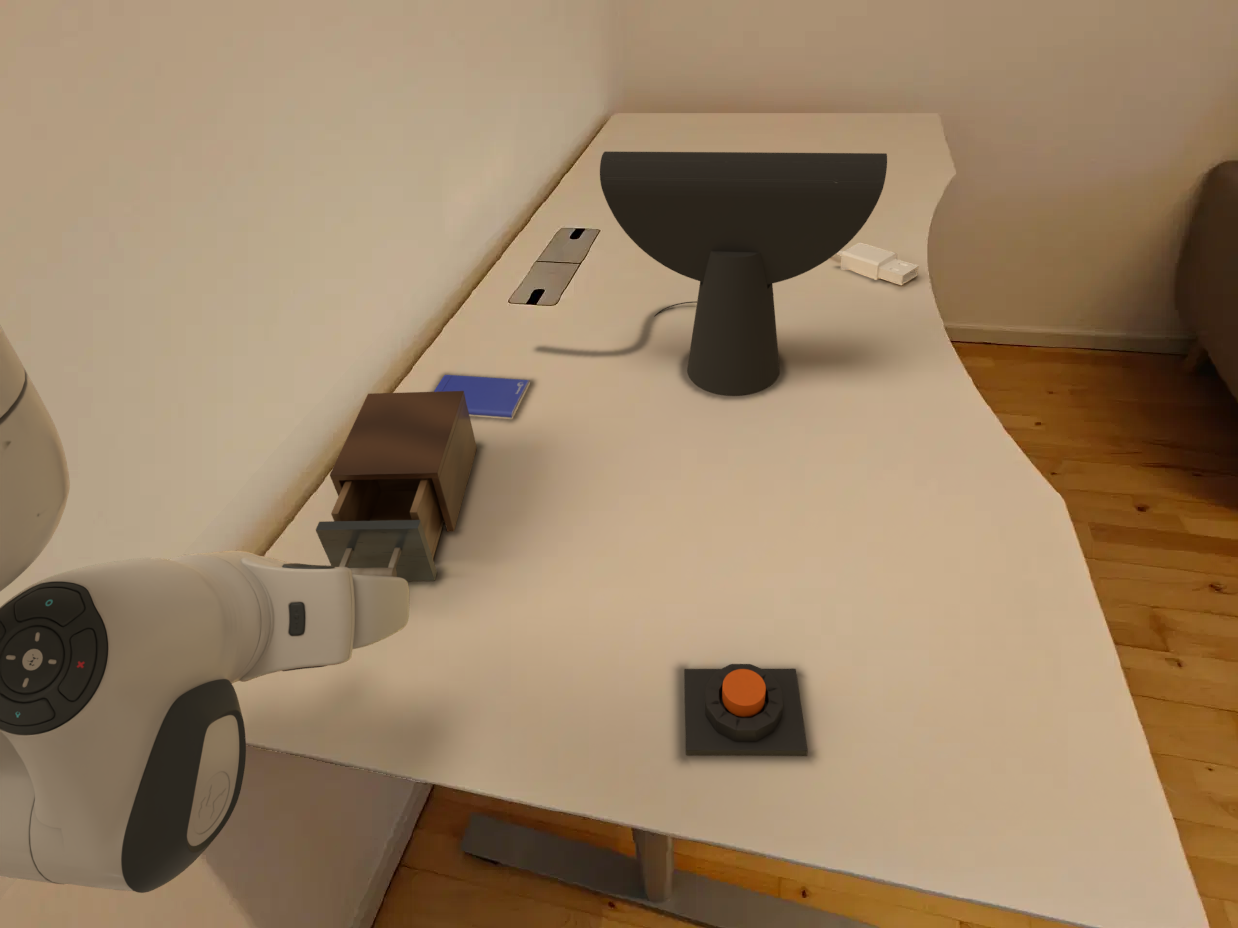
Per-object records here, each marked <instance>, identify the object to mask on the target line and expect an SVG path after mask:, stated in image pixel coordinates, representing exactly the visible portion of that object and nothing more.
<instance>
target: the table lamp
mask: <svg viewBox="0 0 1238 928" xmlns="http://www.w3.org/2000/svg"><path fill="white" fill-rule="evenodd" d="M887 154H888V153H885V152H883V153H881V152H878V153H877V152H873V153H872V152H871V153H870V152H763V151H762V152H755V151H754V152H752V151H751V152H750V151H749V152H748V151H747V152H745V151H742V152H741V151H738V152H737V151H604V152H602V155H601V158H600V163H599V181H600V186H601V191H602V193H603V196H604V199H605V201H606V204H607V206H608V207H609V210H610V211H611V214H612V215H613V217H614V218H615V220H616V222H617V223H618V225H619V226H620V227H621V229H622V230H623V231H624V233H625V234H626V235H627V236H628V237H629V238H630V240H631V241H632V242H633V243H634V244H635V245H637V247H638V248H640V250H642V252H644V253H645V254H646V255H647V256H648V257H650V258H652V259H653V260H654V261H656V262H657V263H659V264H661V265H662V266H664V267H665V268H667V269H669V270H671V271H673V272H675V273H677V274H679V275H681V276H684V277H686V278H689V279H692V280H695V281H698V282H699V287H698V294H697V300H696V301H684V302H679V303H675V304H672V305H669V306H667V307H664V308H662V309H661V310H659V311H658V312H657V313H656V314H655V315H653V318H654V317H656V316H657V315H658V314H660V313H661V312H663V311H665V310H667V309H669V308H671V307H675V306H678V305H684V304H694V303H696V308H695V314H694V321H693V328H692V335H691V342H690V347H689V355H688V361H687V367H686V372H687V376H688V378H689V379H690V381H691V382H692V384H694V385H695V386H696V387H698V388H699V389H701V390H703V391H705V392H708V393H711V394H714V395H718V396H725V397H743V396H744V397H745V396H750V395H754V394H758V393H760V392H763V391H765V390H767V389H768V388H770V387H772V385H774V384H775V383H776V381H777V380H778V378H779V376H780V371H781V369H780V356H779V346H778V334H777V333H778V332H777V323H776V310H775V309H776V308H775V298H774V297H775V296H774V287H773V286H774V285H773V284H777V283H780V282H785V281H787V280H790V279H793V278H796V277H798V276H801V275H803V274H805V273H807V272H810V271H811V270H813V269H815V268H817V267H818V266H820V265H822V264H823V263H825V262H827V261H828V260H829V259H831V258H833V256H835V255H836V253H837V252H839V251H840V250H841V251H842V249H844V247H846V246H847V245H848V244H849V243H850V242H851V241H852V240H853V239H854V238H855V236H856V235H857V234H858V233H859V232H860V231H861V230H862V228H863V227H864V226H865V225H866V223H867V221H868V220H869V218H870V217H871V215H872V213H873V211H874V209H875V208H876V206H877V204H878V202H879V201H880V197H881V195H882V192H883V190H884V187H885V182H886V177H887V170H888V155H887Z"/></svg>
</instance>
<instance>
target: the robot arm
mask: <svg viewBox="0 0 1238 928" xmlns="http://www.w3.org/2000/svg"><path fill="white" fill-rule="evenodd" d="M70 486H71V480H70V473H69V467H68V462H67V457H66V452H65V449H64V446H63V443H62V440H61V436H60V434H59V431H58V429H57V426H56V424H55V422H54V420H53V419H52V417H51V413H50V412H49V410H48V408H47V406H46V405H45V403H44V401H43V399H42V397H41V396H40V393H39V392H38V390H37V388H36V387H35V384H34V383H33V381H32V380H31V376H30V375H29V374H28V372H27V370H26V368H25V367H24V365H23V362H22V361H21V359H20V357H19V355H18V354H17V352H16V350H15V348H14V347H13V345H12V343H11V342H10V339H9V337H8V336H7V334H6V333H5V331H4V329H3V328H2V326H1V325H0V592H2V591H3V590H4V589H6V588H7V587H8V586H9V585H11V584H12V583H13V582H14V581H16V580H17V579H18V578H19V576H21V575H22V574H23V573H24V572H25V571H26V570H27V569H28V568H29V567H31V565H33V563H34V562H35V561H36V560H37V558H38V557H40V555H41V554H42V552H43V551H44V550H45V548H46V547H47V545H48V544H49V543H50V541H51V540H52V538H53V536H54V535H55V533H56V531H57V529H58V527H59V525H60V523H61V520H62V517H63V515H64V512H65V510H66V506H67V502H68V498H69V494H70V488H71V487H70ZM409 617H410V588H409V582H408V581H406V580H405V579H403V578H400V577H391V576H375V575H357V574H352V571H351V569H349V568H347V567H334V566H331V565H326V564H325V565H323V564H322V565H321V564H306V563H298V562H288V561H284V560H281V559H278V558H274V557H270V556H266V555H265V556H263V555H258V554H256V553H254V552H249V551H245V550H224V551H223V550H222V551H211V552H201V553H191V554H189V553H188V554H182V555H179V556H178V555H177V556H173V557H170V558H168V559H167V558H161V557H141V558H129V559H121V560H115V561H114V560H113V561H108V562H102V563H97V564H96V563H95V564H92V565H87V566H82V567H78V568H75V569H71V570H66V571H63V572H60V573H57V574H54V575H51V576H48V577H46V578H43V579H41V580H38V581H37V582H35V583H33V584H31V585H29V586H27V587H25V588H24V589H22V590H21V591H19V592H18V593H16V594H15V595H13V596H12V597H11V598H10V599H8V600H7V601H5V602H4V603H3V604H2V605H1V606H0V878H7V879H15V880H21V881H24V880H25V881H31V882H39V883H46V884H56V885H68V886H77V887H86V888H94V889H103V890H112V891H119V892H120V891H121V892H135V893H137V894H139V893H140V894H144V893H145V894H146V893H150V892H152V891H155V890H156V889H157V890H158V888H161V887H162V886H164V885H166V884H168V883H169V882H171V881H173V880H175V878H177V877H178V876H179V875H181V874H182V873H183V872H184V871H186V869H187V870H188V868H189V867H190V866H191V865H192V864H193V863H194V862H195V861H196V860H197V859H198V858H199V857H200V856H201V855H202V854H203V853H204V852H205V851H206V850H207V848H208V847H209V846H210V845H211V844H212V843H213V841H214V840H215V839H216V838H217V837H218V836H219V834H220V833H221V831H222V830H223V829H224V828H225V826H226V824H227V823H228V822H229V819H230V818H231V816H232V814H233V812H234V811H235V808H236V805H237V804H238V800H239V797H240V794H241V791H242V787H243V780H244V775H245V768H246V757H247V739H246V728H245V722H244V717H243V714H242V709H241V705H240V702H239V698H238V694H237V691H236V690H235V687H234V685H233V684H234V683H237V682H241V683H243V682H244V683H246V682H249V681H252V680H254V679H257V678H259V677H262V676H265V675H266V676H267V675H270V674H274V673H278V672H289V671H295V670H297V671H298V670H303V669H315V668H323V667H328V666H337V665H341V664H344V663H346V662H348V661H350V660H351V659H352V655H353V651H354V650H356V649H360V648H364V647H369V646H372V645H373V644H376V643H379V642H381V641H383V640H385V639H387V638H389V637H391V636H393V635H395V634H397V633H398V632H400V631H402V630H403V629H404V628H405V627H406V626H407V625H408V623H409V619H410V618H409Z"/></svg>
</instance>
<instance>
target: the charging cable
mask: <svg viewBox="0 0 1238 928" xmlns="http://www.w3.org/2000/svg"><path fill="white" fill-rule="evenodd" d="M835 255H837V256H840V270H841V271H851V272H853V273H857V274H859V275H861V276H864V277H866V278H869V279H871V280H875V281H877V280H879V279H881V280H883V281H887V282H890V283H892V284H896V285H899V286H903V285H904V284H906V283H908V282H909V281H911V280H913V279H914V278H916V277H917V276H919V275H918V274H919V268H920V265H918V264H915V263H911V262H908V261H905V260H901V259H899V258H898V254H897V252H894V251H890V250H887V249H884V248H880V247H878V246H875V245H871V244H867V243H864V242H861V241H860V242H858V243H856V244H854V245H852V246H850V247H848V248H847V249H845V250H842V249H841V250H840V251H839V252H837V253H836V254H835Z"/></svg>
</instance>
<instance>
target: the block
mask: <svg viewBox="0 0 1238 928" xmlns="http://www.w3.org/2000/svg"><path fill="white" fill-rule="evenodd" d="M738 669H748V670H751V671H754V672H756V673H757V674H758V675H760V676H761V678H762V679H763V680H764V682H765V686H766V693H765V703H764V706H763V708H762V710H761V711H760V712H759V713H757V714H756V715H754V716H751V717H739V716H736V715H734V714H732V713H731V712H729V711H728V710H727V709H726V707H725V706H724V704H723V700H722V687H723V681H724V679H725V677H726V676H727V675H728V674H729V673H730V672H732V671H734V670H738ZM797 675H798V674H797V669H796V668H761V667H758V666H757V665H754V664H751V663H730V664H728V665H726V666H724V667H722V668H684V669H683V678H684V679H683V683H684V726H685V727H684V728H685V755H686V756H750V757H751V756H759V757H760V756H763V757H764V756H766V757H768V756H771V757H773V756H774V757H777V756H778V757H780V756H781V757H783V756H784V757H803V756H804V757H806V756H807V755H808V744H807V738H806V730H805V723H804V718H803V717H804V716H803V709H802V702H801V696H800V689H799V681H798V676H797Z"/></svg>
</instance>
